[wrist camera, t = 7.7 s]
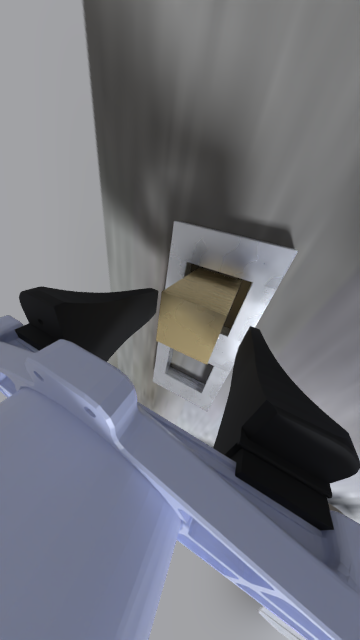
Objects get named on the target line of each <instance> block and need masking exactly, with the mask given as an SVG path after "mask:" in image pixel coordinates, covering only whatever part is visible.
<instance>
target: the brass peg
mask: <svg viewBox="0 0 360 640" xmlns="http://www.w3.org/2000/svg"><path fill="white" fill-rule="evenodd" d="M241 281H242V280H239V279H235V278H232V277H229V276H226V275H222V274H219V273H216V272H213V271H209V270H206V269H203V268H198V269H196V270H195V271H193V272H192V273H190V274H189V275H187V276H185V277H184V278H182V279H181V280H179V281H178V282H176V283H174V284H173V285H171V286H170V287H168V288H167V289H165V290H163V291H162V295H161V304H160V312H159V321H158V329H157V338H156V341H158V342H160V343H162V344H164V345H166V346H168V347H170V348H173V349H175V350H177V351H179V352H181V353H183V354H185V355H187V356H190V357H192V358H194V359H196V360H198V361H200V362H202V363H204V364H208V361H209V359H210V356H211V354H212V351H213V349H214V347H215V344H216V342H217V339H218V337H219V335H220V332H221V330H222V327H223V325H224V323H225V320H226V318H227V315H228V313H229V310H230V308H231V306H232V303H233V301H234V298H235V296H236V294H237V291H238V289H239V286H240V284H241Z"/></svg>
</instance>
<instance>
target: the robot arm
mask: <svg viewBox="0 0 360 640" xmlns="http://www.w3.org/2000/svg"><path fill="white" fill-rule="evenodd" d="M157 298H158V291H157V290H155V289H152V288H147V289H138V290H131V291H122V292H110V293H89V292H88V293H87V292H74V291H66V290H59V289H53V288H47V287H37V288H33V289H29V290H25V291H22V292H21V293H20V296H19V299H20V303H21V306H22V308H23V311H24V313H25V315H26V317H27V319H28V321H29V324H27V325H24V326H23V324H22V323H21V322H20V321H18V320H16V319H15V318H13V317H11V316H9V315H6V316H4V317H1V318H0V392H2V393H3V394H4V395H5V396H6V397H7V399H5V400H4V401H2V402H1V403H0V640H148V639H149V635H150V632H151V628H152V625H153V621H154V618H155V614H156V611H157V607H158V604H159V600H160V597H161V593H162V589H163V586H164V582H165V579H166V576H167V572H168V568H169V565H170V561H171V558H172V554H173V551H174V547H175V544H176V540H178V541H179V542H180V543H182V544H183V545H184V546H186V547H187V548H188V549H189V550H191V551H192V552H193V553H195V554H196V555H198V556H199V557H200V558H201V559H203V560H204V561H205V562H207V563H208V564H209V565H210V566H212V567H213V568H214V569H216V570H217V571H218V572H220V573H221V574H223V575H224V576H225V577H226V578H228V579H229V580H230V581H231V582H233V583H234V584H236V585H237V586H238V587H239V588H241V589H242V590H243V591H244V592H246V593H247V594H248V595H250V596H251V597H252V598H254V599H255V600H256V601H258V602H259V603H260V604H261V605H263V606H264V607H265V608H267V609H268V610H269V611H271V612H272V613H273V614H274V615H276V616H277V617H278V618H280V619H281V620H282V621H283V622H285V623H286V624H287V625H289V626H290V627H291V628H292V629H294V630H295V631H296V632H297V633H299V634H300V635H301V636H302V637H304V638H305V639H306V640H360V524H359V523H357V522H355V521H353V520H352V519H350V518H348V517H347V516H345V515H343V514H341V513H339V512H335V511H331V510H329V505H328V501H327V498H332V492H331V488H330V484H329V483H333V482H336V481H339V480H342V479H345V478H349V477H351V476H352V475H354V474H356V473H357V472H358V470H359V469H360V460H359V458H358V455H357V453H356V450H355V448H354V446H353V443H352V441H351V438H350V436H349V433H348V432H347V431H346V430H344V429H343V428H342V427H341V426H340V425H339V424H337V423H336V422H335V421H334V420H333V419H331V418H330V417H329V416H328V415H327V414H326V413H324V412H323V411H322V410H321V409H320V408H319V407H318V406H317V405H316V404H315V403H314V402H312V401H311V400H310V399H309V398H308V397H307V396H306V395H305V394H304V393H303V392H302V391H301V390H300V389H299V387H298V386H297V385H296V384H295V383H294V382H293V381H292V380H291V379H290V377H289V376H288V375H287V374H286V372H285V371H284V370H283V369H282V367H281V366H280V365H279V363H278V362H277V360H276V359H275V357H274V356H273V354H272V352H271V351H270V349H269V347H268V345H267V344H266V342H265V340H264V338H263V336H262V334H261V332H260V330H259V329H257V328H254V327H252V326H250V327H249V329H248V331H247V332H246V334H245V336H244V338H243V340H242V342H241V344H240V345H239V347H238V350H237V353H236V357H235V361H234V368H233V374H232V381H231V387H230V392H229V396H228V400H227V404H226V407H225V411H224V414H223V418H222V421H221V425H220V428H219V431H218V435H217V438H216V441H215V444H214V448H212V447H210V446H209V445H207V444H205V443H204V442H202V441H200V440H199V439H197V438H196V437H194V436H192V435H191V434H189V433H187V432H186V431H184V430H183V429H181V428H179V427H178V426H176V425H174V424H173V423H171V422H170V421H168V420H166V419H165V418H163V417H162V416H160V415H158V414H157V413H155V412H153V411H152V410H150V409H149V408H147V407H145V406H144V405H142V404H140V403H139V402H137V393H136V390H135V387H134V385H133V383H132V382H131V381H130V379H129V378H128V377H127V376H126V375H125V374H124V373H123V372H121V371H120V370H119V369H117V368H116V367H114V366H113V365H111V364H109V363H107V361H108V360H109V358H110V357H111V356H112V355H113V354H114V352H116V350H117V349H118V348H119V347H120V346H121V345H122V344H123V343H124V342H125V341H126V340H127V339H128V338H129V337H130V336H131V335H133V334H134V333H135V332H136V331H137V330H139V329H140V328H141V327H142V326H143V325H145V324H146V323H147V322H148V321H149V320H150V319H151V318H152V317H153V315H154V314H155V313H156V307H157Z"/></svg>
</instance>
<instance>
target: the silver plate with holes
mask: <svg viewBox="0 0 360 640" xmlns="http://www.w3.org/2000/svg"><path fill="white" fill-rule="evenodd" d="M297 252H298V251H297V250H296V249H294V248H290V247H286V246H282V245H278V244H273V243H269V242H265V241H261V240H257V239H253V238H248V237H244V236H240V235H236V234H232V233H228V232H223V231H219V230H215V229H211V228H207V227H203V226H198V225H194V224H190V223H186V222H182V221H174V226H173V233H172V241H171V248H170V256H169V264H168V271H167V279H166V286H165V289H167V288H168V287H170V286H171V285H173V284H174V283H176V282H178V281H179V280H181V279H182V278H184V277H185V276H187V275H189V274H190V271H191V266H192V264H195V265H198V266H202V267H205V268H208V269H211V270H215V271H218V272H221V273H224V274H227V275H231V276H234V277H237V278H240V279H244V280H247V281H250V282H252V283H251V285H250V287H249V289H248V292H247V294H246V296H245V298H244V300H243V303H242V305H241V307H240V309H239V311H238V313H237V316H236V318H235V320H234V322H233V324H232V327H231V329H229V328H227V327H224V326H223V327H222V330H221V332H220V335H219V337H218V339H217V342H216V344H215V347H214V349H213V351H212V354H211V356H210V359H209V361H208V363H209V364H211V365H213V368H212V370H211V372H210V375H209V377H208V379H207V381H206V383H205V384H203V383H201V382H199V381H197V380H195V379H193V378H191V377H189V376H187V375H186V374H184V373H182V372H180V371H178V370H176V369H174V368H172V367H170V363H171V359H172V354H173V348H170V347H168V346H166V345H164V344H162V343H160V342H158V346H157V354H156V362H155V369H154V377H153V382H155V383H156V384H158V385H160V386H162V387H164V388H166V389H167V390H169V391H171V392H173V393H175V394H176V395H178V396H180V397H182V398H184V399H185V400H187V401H189V402H191V403H193V404H194V405H196V406H198V407H200V408H202V409H203V410H205V411H208V409H209V407H210V406H211V404H212V402H213V400H214V399H215V397H216V395H217V393H218V392H219V390H220V388H221V386H222V384H223V383H224V381H225V379H226V377H227V376H228V374H229V372H230V370H231V369H232V367H233V365H234V361H235V357H236V353H237V350H238V347H239V345H240V344H241V342H242V340H243V338H244V336H245V334H246V332H247V331H248V329H249V327H250V326H252V327H254V328H255V326H256V324H257V323H258V321H259V319H260V317H261V316H262V314H263V312H264V310H265V309H266V307H267V305H268V303H269V301H270V300H271V298H272V296H273V294H274V293H275V291H276V289H277V287H278V286H279V284H280V282H281V280H282V279H283V277H284V275H285V273H286V271H287V270H288V268H289V266H290V264H291V263H292V261H293V259H294V257H295V256H296V254H297Z"/></svg>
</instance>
